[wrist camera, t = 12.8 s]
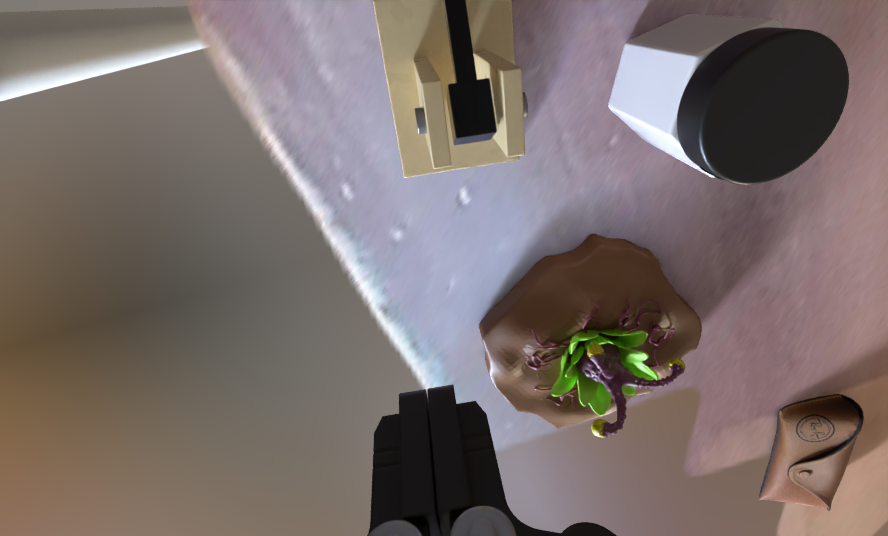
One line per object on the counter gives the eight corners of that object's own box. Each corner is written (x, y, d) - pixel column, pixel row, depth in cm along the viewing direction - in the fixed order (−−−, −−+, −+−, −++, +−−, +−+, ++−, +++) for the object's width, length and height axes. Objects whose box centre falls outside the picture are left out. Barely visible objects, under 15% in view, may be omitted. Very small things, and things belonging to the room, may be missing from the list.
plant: (441, 331, 45) (454, 421, 36) (615, 201, 40) (686, 265, 31) (554, 433, 54) (590, 528, 44) (709, 336, 49) (788, 420, 39)
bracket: (373, -1, 32) (364, 0, 21) (507, -20, 32) (561, -29, 21) (403, 173, 38) (408, 238, 27) (516, 155, 38) (562, 214, 27)
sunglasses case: (776, 410, 55) (846, 444, 50) (804, 377, 58) (874, 406, 53) (756, 503, 64) (814, 540, 59) (781, 470, 67) (839, 503, 62)
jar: (618, 154, 38) (702, 211, 28) (594, 53, 34) (682, 76, 24) (727, 107, 37) (857, 148, 27) (716, -3, 33) (862, -4, 23)
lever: (379, -111, 26) (374, -145, 23) (488, -126, 26) (494, -162, 24) (420, 150, 27) (420, 143, 25) (524, 135, 27) (533, 126, 25)
